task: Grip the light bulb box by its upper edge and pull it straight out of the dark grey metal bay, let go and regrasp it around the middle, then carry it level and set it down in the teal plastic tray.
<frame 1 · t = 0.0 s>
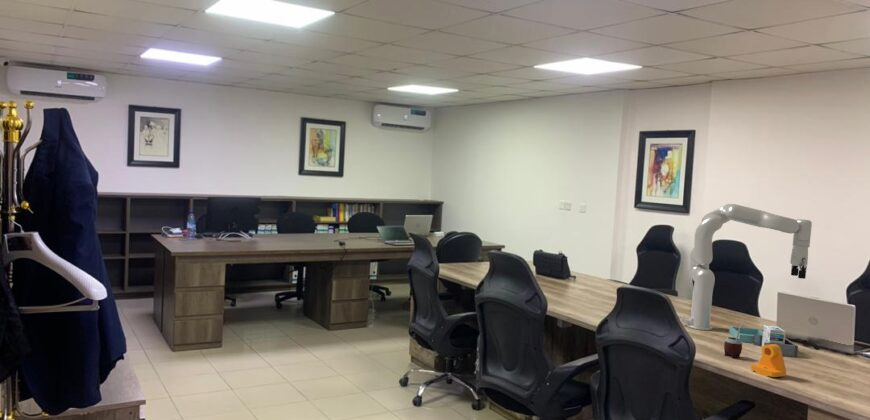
hand: (797, 276, 319), 31 cm above the table, tool pointing down, fingers open, 9 cm apart
light bulb box: (772, 350, 291), on the table
mate gourd: (732, 356, 275), on the table
bracket: (767, 374, 251), on the table
tray: (748, 338, 311), on the table
bay: (772, 350, 291), on the table
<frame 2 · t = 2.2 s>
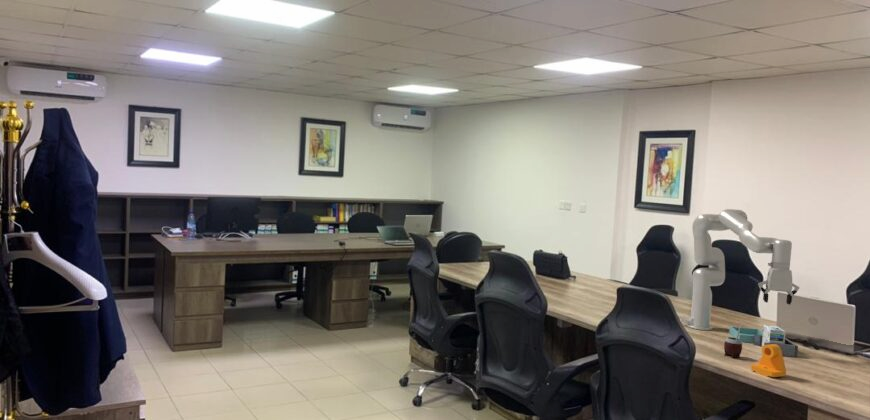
hand: (777, 303, 289), 22 cm above the table, tool pointing down, fingers open, 9 cm apart
nothing on the table moved.
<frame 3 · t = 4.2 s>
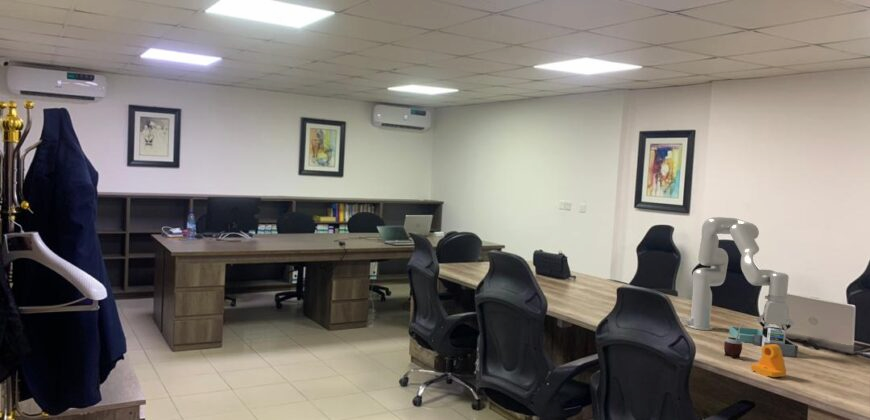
hand: (773, 337, 290), 6 cm above the table, tool pointing down, fingers closed on light bulb box, 6 cm apart
light bulb box: (772, 350, 291), on the table, touching gripper
everything else where it was.
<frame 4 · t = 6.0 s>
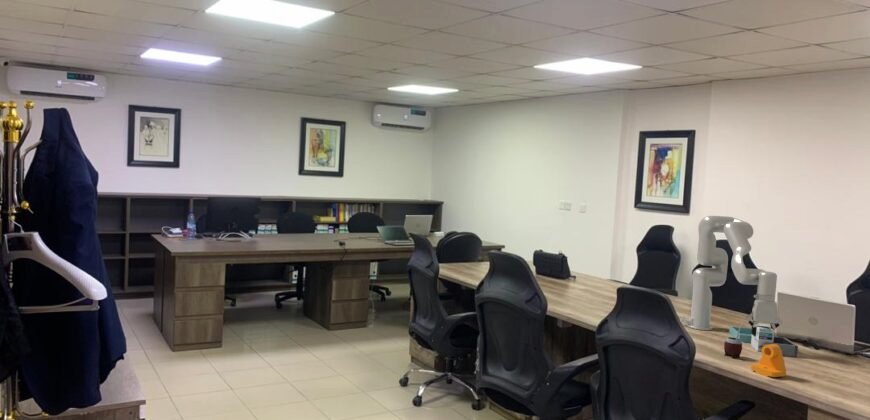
hand: (762, 335, 291), 6 cm above the table, tool pointing down, fingers closed on light bulb box, 6 cm apart
light bulb box: (761, 349, 291), on the table, touching gripper
everything else where it was.
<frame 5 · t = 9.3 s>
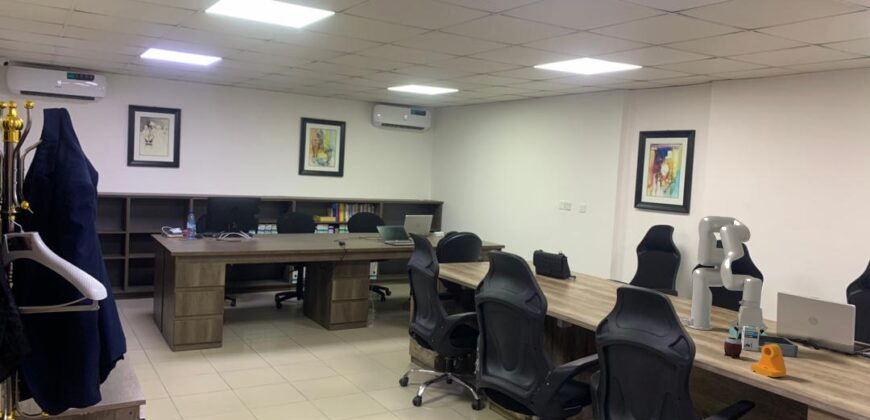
hand: (747, 341, 292), 3 cm above the table, tool pointing down, fingers closed on light bulb box, 6 cm apart
light bulb box: (747, 348, 293), on the table, touching gripper
everything else where it was.
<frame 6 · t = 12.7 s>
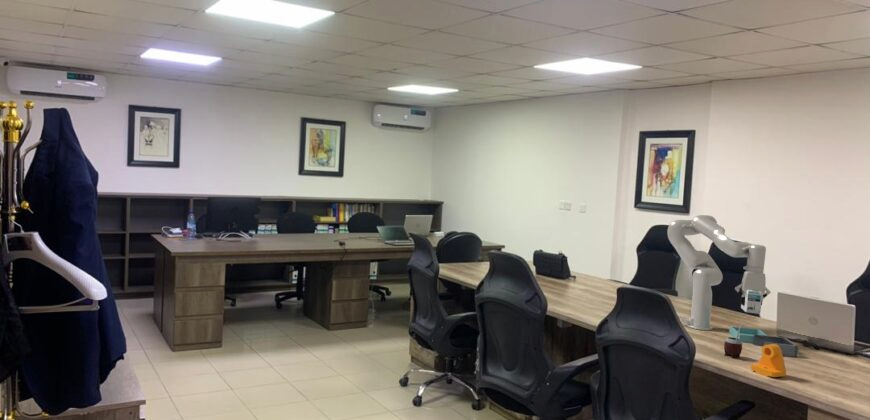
hand: (750, 305, 307), 17 cm above the table, tool pointing down, fingers closed on light bulb box, 6 cm apart
light bulb box: (750, 311, 308), point 14 cm above the table, touching gripper
everything else where it was.
when the fingers open (5 cm above the table, at t = 16.1 s): light bulb box drops 1 cm, resting on tray.
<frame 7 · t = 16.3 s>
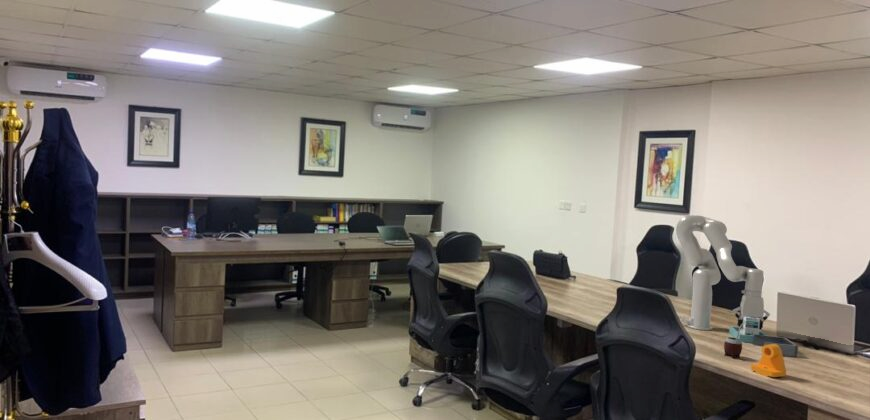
hand: (749, 328, 311), 5 cm above the table, tool pointing down, fingers open, 8 cm apart
light bulb box: (748, 337, 311), point 1 cm above the table, touching tray
everything else where it was.
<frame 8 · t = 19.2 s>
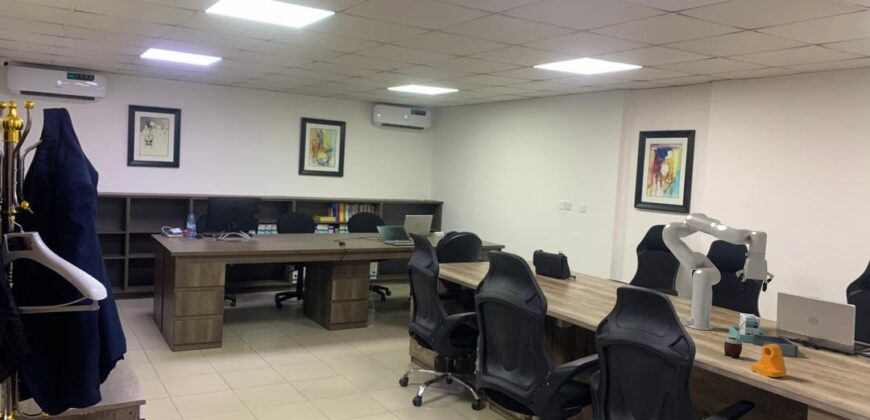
hand: (753, 290, 310), 24 cm above the table, tool pointing down, fingers open, 9 cm apart
nothing on the table moved.
at the end: light bulb box inside the target area on the tray (0.4 cm from its centre), point 0.6 cm above the tray's base; light bulb box tilted 0°; the gripper is holding nothing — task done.
